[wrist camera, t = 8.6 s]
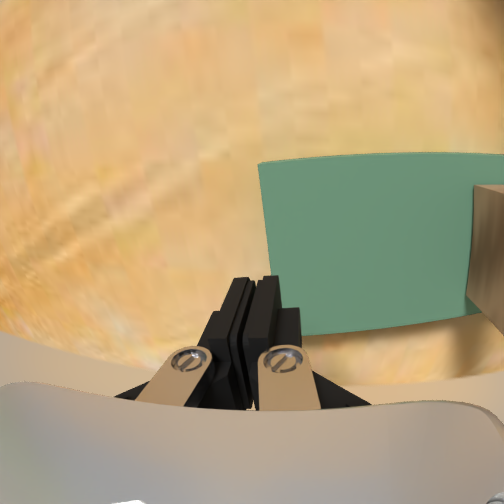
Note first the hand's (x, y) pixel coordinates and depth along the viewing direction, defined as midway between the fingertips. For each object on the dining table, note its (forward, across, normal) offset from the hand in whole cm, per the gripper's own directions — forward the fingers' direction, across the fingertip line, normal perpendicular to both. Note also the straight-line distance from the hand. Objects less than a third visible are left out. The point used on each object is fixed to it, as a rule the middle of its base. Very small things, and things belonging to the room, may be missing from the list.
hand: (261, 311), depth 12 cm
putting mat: (+12, -16, +1) cm, 20 cm away
